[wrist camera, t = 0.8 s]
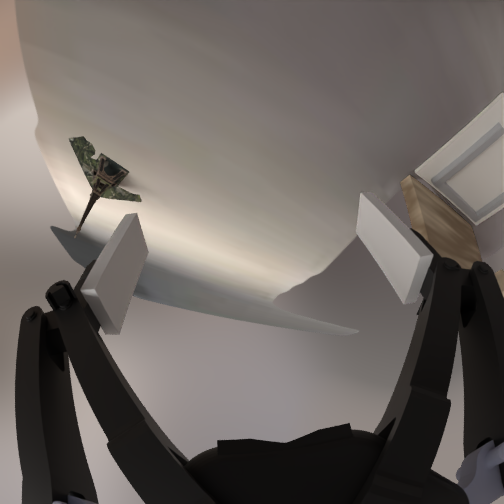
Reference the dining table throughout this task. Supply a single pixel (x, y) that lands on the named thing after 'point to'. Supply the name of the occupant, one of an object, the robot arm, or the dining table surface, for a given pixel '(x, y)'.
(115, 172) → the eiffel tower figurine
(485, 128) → the seat plate
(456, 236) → the overhang shelf
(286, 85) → the dining table surface
